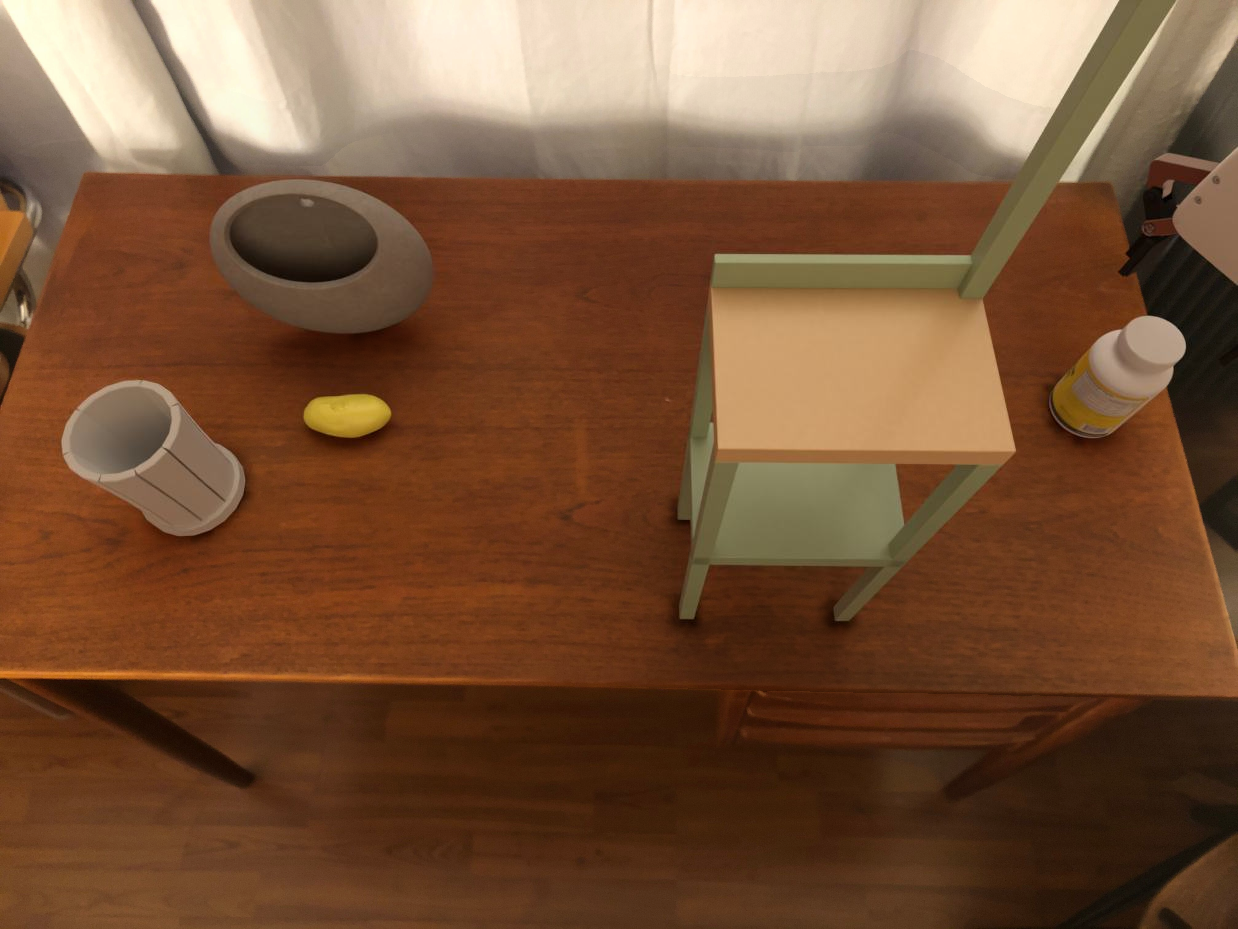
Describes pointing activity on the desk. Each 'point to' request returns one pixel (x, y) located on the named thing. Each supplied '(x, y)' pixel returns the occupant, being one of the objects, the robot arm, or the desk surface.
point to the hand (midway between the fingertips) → (1182, 310)
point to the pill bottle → (1117, 377)
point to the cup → (153, 457)
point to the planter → (321, 256)
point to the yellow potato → (347, 415)
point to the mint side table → (866, 376)
